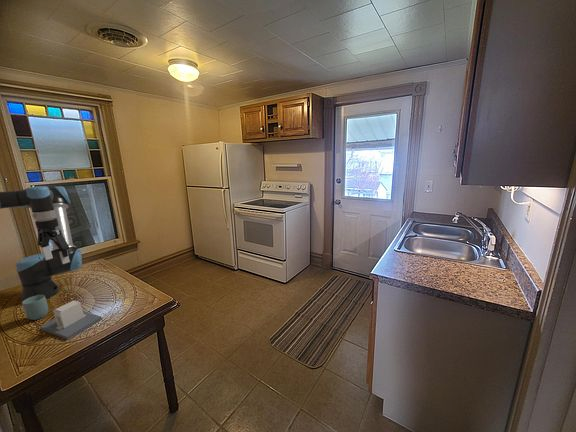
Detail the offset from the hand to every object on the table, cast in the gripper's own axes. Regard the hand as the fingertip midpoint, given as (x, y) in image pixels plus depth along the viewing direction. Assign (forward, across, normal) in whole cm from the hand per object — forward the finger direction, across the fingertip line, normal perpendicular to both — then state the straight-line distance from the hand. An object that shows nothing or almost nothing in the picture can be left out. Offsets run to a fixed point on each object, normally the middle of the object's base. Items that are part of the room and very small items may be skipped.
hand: (57, 260), depth 119 cm
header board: (+26, +16, -8) cm, 32 cm away
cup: (+27, -6, -10) cm, 29 cm away
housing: (+25, +16, -8) cm, 30 cm away
